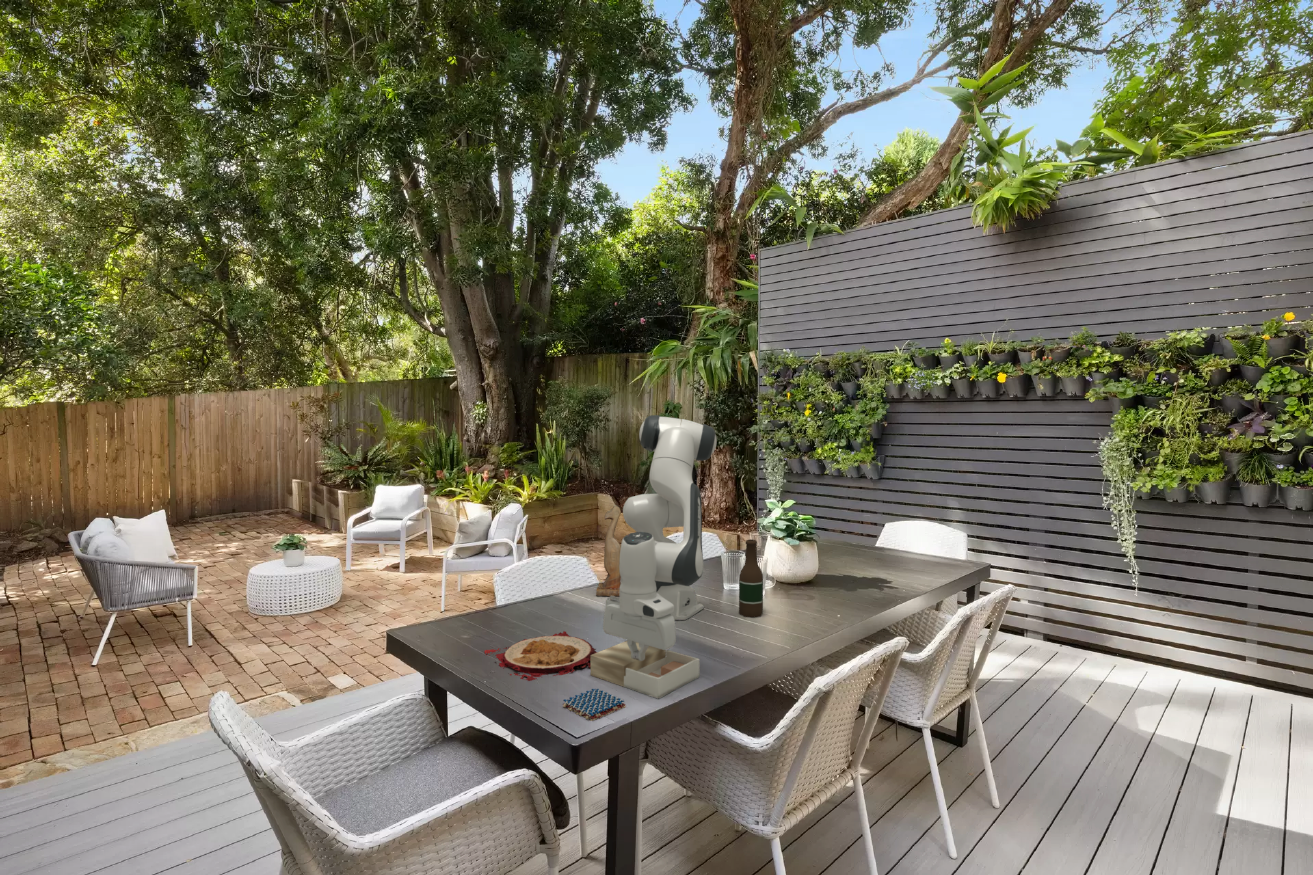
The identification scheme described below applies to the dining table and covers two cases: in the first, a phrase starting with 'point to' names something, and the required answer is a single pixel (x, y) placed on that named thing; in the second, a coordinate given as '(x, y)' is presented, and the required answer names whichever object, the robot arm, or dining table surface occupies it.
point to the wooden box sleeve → (621, 662)
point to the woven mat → (594, 704)
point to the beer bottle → (751, 584)
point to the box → (666, 682)
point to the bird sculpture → (611, 557)
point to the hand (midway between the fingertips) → (638, 659)
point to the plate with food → (546, 655)
